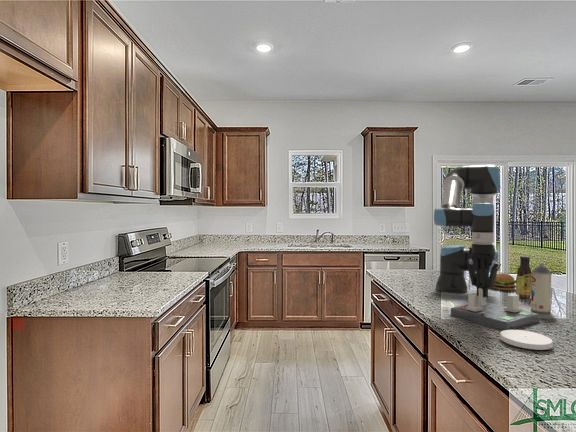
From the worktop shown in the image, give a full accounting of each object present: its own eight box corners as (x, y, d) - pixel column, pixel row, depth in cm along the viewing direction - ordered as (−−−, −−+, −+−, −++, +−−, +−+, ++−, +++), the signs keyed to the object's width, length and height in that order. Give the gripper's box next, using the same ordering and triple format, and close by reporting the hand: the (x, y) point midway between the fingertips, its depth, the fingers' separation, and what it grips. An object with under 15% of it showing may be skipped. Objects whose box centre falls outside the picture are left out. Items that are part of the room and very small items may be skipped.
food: (481, 287, 210) (481, 272, 210) (498, 285, 216) (499, 271, 216) (505, 292, 197) (505, 276, 197) (522, 290, 203) (523, 275, 203)
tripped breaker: (465, 309, 149) (466, 293, 149) (473, 307, 152) (473, 292, 152) (475, 311, 146) (475, 295, 146) (483, 309, 149) (483, 294, 148)
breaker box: (450, 315, 152) (450, 307, 152) (482, 308, 164) (482, 300, 164) (507, 330, 133) (507, 321, 133) (538, 321, 145) (538, 313, 145)
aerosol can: (530, 308, 165) (531, 262, 165) (549, 310, 161) (550, 263, 161) (531, 312, 159) (532, 263, 159) (551, 314, 156) (552, 265, 155)
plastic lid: (504, 334, 131) (504, 326, 131) (554, 344, 122) (554, 336, 122) (495, 345, 120) (496, 337, 120) (549, 357, 111) (550, 348, 111)
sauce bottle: (526, 299, 182) (527, 257, 181) (513, 296, 187) (514, 256, 187) (534, 298, 185) (535, 257, 184) (521, 295, 190) (522, 255, 190)
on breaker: (503, 310, 149) (504, 294, 149) (510, 308, 151) (511, 293, 151) (514, 312, 145) (514, 296, 145) (521, 310, 148) (521, 295, 148)
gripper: (461, 242, 150) (460, 303, 150) (493, 245, 139) (493, 310, 139) (472, 242, 154) (472, 300, 154) (505, 244, 143) (504, 307, 143)
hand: (482, 305), depth 147 cm, fingers closed
